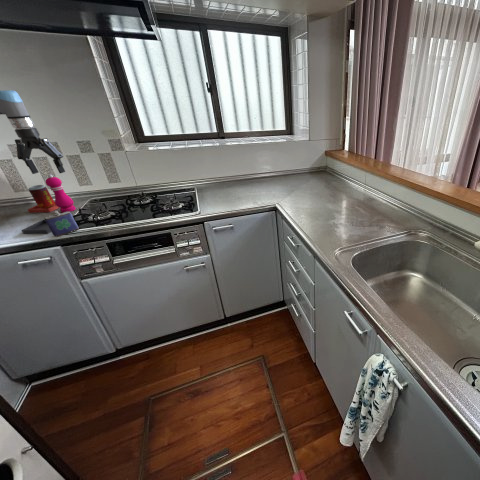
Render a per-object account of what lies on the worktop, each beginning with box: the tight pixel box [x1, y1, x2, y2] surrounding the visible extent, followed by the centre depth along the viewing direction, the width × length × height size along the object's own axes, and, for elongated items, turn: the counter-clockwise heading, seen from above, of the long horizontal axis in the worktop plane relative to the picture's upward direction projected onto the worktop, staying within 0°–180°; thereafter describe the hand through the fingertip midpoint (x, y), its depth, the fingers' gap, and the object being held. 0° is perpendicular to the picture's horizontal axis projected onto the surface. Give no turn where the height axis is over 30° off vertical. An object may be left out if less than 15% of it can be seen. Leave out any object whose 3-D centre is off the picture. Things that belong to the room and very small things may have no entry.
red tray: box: [26, 200, 60, 214], centre depth 148 cm, size 11×11×2 cm
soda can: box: [28, 184, 55, 209], centre depth 145 cm, size 7×7×12 cm
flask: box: [43, 210, 80, 238], centre depth 121 cm, size 9×3×11 cm, turn 144°
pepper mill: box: [45, 174, 77, 213], centre depth 141 cm, size 7×7×20 cm
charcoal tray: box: [21, 219, 52, 235], centre depth 127 cm, size 11×11×2 cm
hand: (49, 172), depth 135 cm, fingers open, 13 cm apart
